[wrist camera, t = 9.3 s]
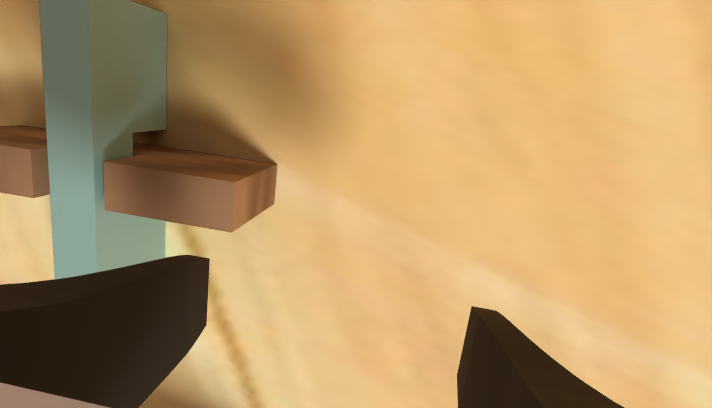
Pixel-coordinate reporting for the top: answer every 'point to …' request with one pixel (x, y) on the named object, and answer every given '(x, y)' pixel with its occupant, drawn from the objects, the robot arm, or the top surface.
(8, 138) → the stand plate
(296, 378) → the top surface
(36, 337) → the robot arm
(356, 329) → the top surface
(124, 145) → the cross plate
